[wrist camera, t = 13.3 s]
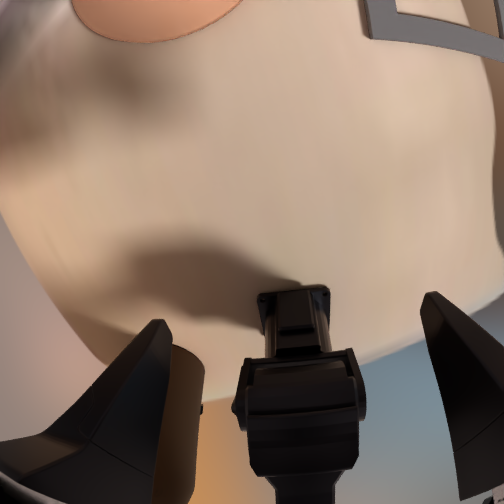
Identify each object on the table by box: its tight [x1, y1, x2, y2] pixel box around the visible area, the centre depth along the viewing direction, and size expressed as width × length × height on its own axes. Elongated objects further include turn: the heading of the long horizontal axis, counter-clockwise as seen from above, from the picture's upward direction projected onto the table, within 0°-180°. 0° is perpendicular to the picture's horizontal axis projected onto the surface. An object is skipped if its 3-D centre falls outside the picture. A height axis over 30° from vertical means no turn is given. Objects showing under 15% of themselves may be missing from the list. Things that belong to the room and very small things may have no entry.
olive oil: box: [151, 345, 205, 504], centre depth 24 cm, size 11×11×25 cm
